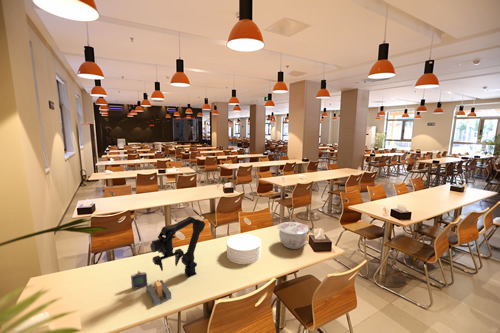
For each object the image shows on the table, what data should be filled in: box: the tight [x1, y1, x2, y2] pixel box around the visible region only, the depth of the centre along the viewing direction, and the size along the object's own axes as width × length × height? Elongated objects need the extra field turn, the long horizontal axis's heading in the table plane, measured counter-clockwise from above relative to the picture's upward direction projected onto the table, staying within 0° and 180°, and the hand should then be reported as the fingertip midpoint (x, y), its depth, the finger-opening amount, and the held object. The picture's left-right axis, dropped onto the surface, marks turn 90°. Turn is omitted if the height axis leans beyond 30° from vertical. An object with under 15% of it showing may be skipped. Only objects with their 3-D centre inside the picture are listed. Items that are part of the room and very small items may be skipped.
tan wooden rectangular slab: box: [154, 279, 162, 297], centre depth 145 cm, size 2×6×8 cm, turn 39°
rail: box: [145, 279, 172, 307], centre depth 146 cm, size 10×16×4 cm, turn 39°
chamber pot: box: [277, 221, 311, 250], centre depth 209 cm, size 28×28×21 cm
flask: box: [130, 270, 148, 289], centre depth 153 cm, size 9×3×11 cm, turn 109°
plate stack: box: [226, 233, 262, 265], centre depth 193 cm, size 28×28×12 cm
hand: (169, 268), depth 154 cm, fingers open, 9 cm apart
